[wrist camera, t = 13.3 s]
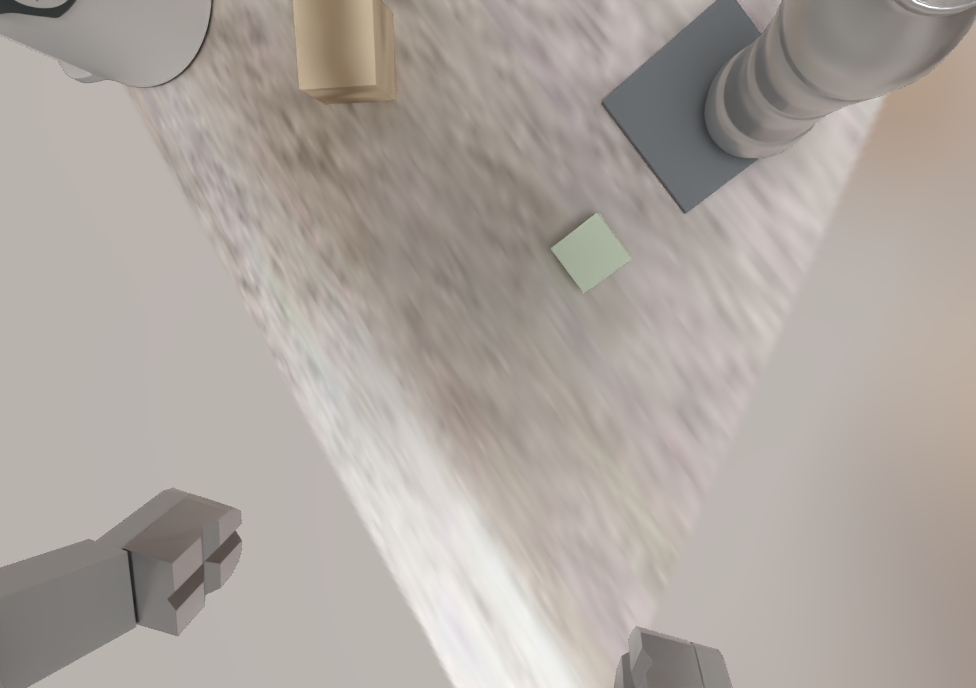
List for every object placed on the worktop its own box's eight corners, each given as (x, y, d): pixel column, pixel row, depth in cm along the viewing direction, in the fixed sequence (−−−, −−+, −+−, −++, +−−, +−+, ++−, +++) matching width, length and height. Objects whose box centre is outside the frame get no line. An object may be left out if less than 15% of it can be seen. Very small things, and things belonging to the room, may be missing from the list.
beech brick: (327, 104, 39) (299, 89, 35) (321, 22, 38) (292, -3, 34) (397, 100, 38) (376, 84, 34) (394, 15, 36) (371, -12, 33)
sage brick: (553, 247, 38) (550, 248, 34) (596, 215, 37) (597, 211, 33) (584, 288, 38) (584, 293, 34) (627, 257, 37) (632, 258, 33)
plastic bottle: (734, 185, 33) (950, 93, 14) (675, 107, 33) (814, -95, 14) (821, 119, 32) (1201, -86, 12) (760, 37, 32) (1051, -303, 12)
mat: (601, 103, 35) (602, 100, 34) (725, -5, 32) (728, -11, 31) (684, 213, 35) (686, 212, 34) (812, 115, 33) (818, 112, 32)
